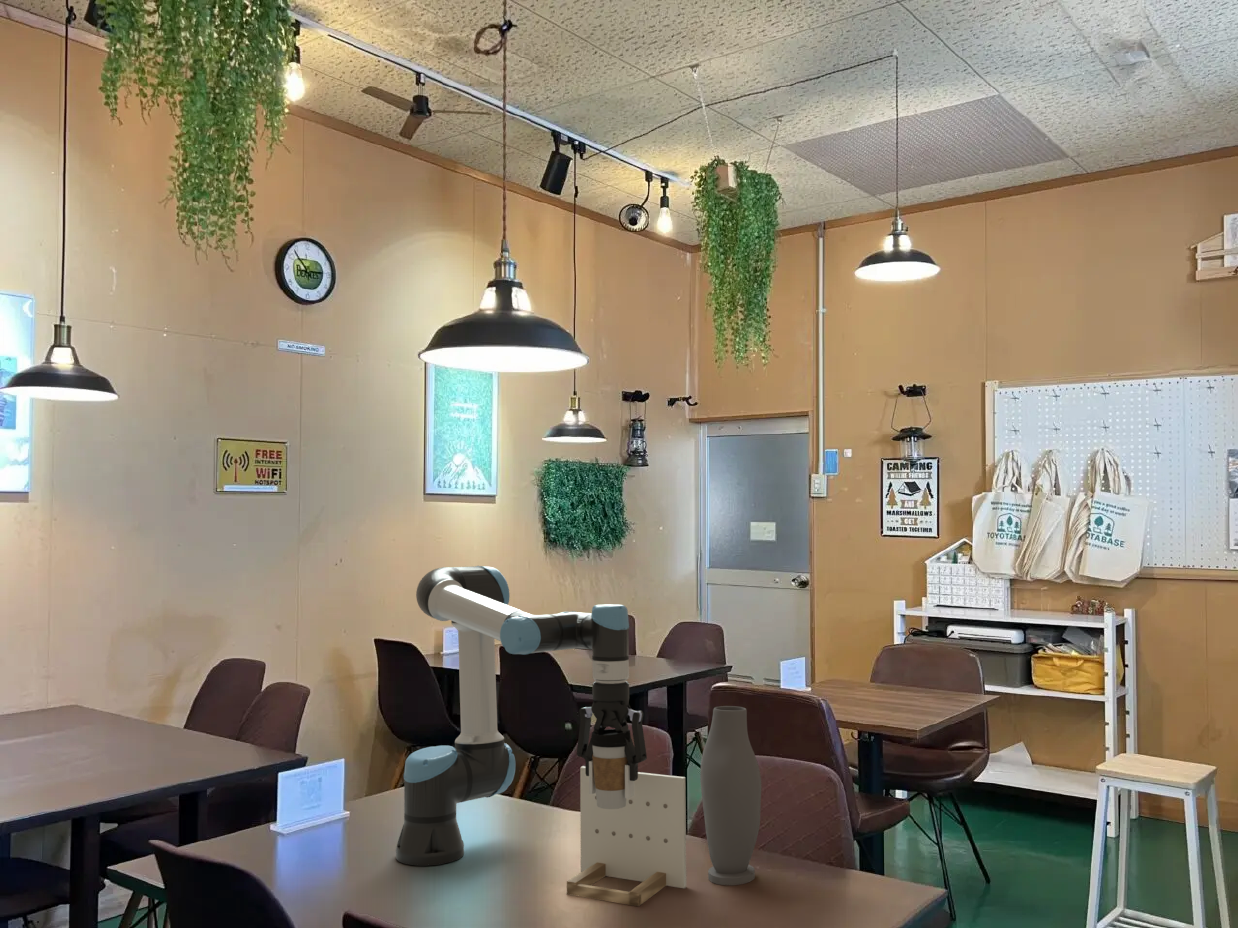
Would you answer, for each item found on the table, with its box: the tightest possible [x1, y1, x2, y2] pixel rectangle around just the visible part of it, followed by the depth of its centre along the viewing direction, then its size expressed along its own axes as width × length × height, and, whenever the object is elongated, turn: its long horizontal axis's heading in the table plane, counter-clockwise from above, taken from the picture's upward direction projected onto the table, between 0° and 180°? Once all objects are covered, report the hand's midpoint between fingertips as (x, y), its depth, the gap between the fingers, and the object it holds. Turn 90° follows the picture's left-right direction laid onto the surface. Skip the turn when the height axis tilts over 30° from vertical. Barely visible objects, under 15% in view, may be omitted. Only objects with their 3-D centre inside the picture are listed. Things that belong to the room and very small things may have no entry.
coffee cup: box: [589, 728, 632, 809], centre depth 208 cm, size 8×8×15 cm
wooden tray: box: [566, 863, 667, 907], centre depth 208 cm, size 16×13×2 cm
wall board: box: [579, 765, 687, 889], centre depth 215 cm, size 24×1×22 cm, turn 64°
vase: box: [699, 705, 762, 886], centre depth 217 cm, size 13×13×35 cm
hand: (611, 794), depth 208 cm, fingers closed on coffee cup, 7 cm apart
